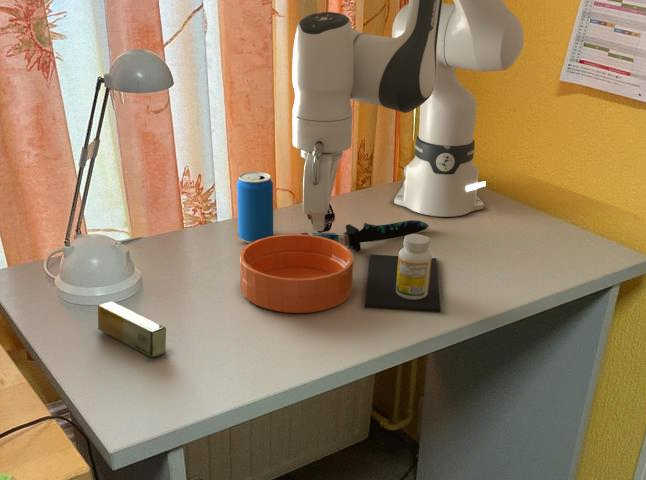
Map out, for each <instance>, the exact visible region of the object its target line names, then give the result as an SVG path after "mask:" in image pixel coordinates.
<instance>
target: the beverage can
mask: <svg viewBox="0 0 646 480" xmlns="http://www.w3.org/2000/svg"><path fill="white" fill-rule="evenodd" d="M236 199H237V200H236V201H237V232H238V238H239V239H240V240H242V241H243V242H244V243H246V244H250V243H252V242H254V241H256V240H259V239H262V238H266V237H270V236H274V183H273V181H272V179H271V175H270V173H269V174H268V173H267V172H262V171H246V172H243V173H241V174H240V175H238V179H237V182H236Z"/></svg>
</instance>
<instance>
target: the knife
mask: <svg viewBox="0 0 646 480" xmlns="http://www.w3.org/2000/svg"><path fill="white" fill-rule="evenodd" d="M428 228H429V224H428V223H426V222H424V221H421V220H415V219H414V220H412V219H411V220H404V221H398V222H394V223H388V224H378V225H377V224H376V225H375V224H370V223H366V222H364V224H363V227H362V228H361V229H360V230H359V229H358V228H357V227H355V226H353V225H352V224H349V223H348V224H346V225H345V232H322V233H318V232H302V233H300V234H303V235H313V236H319V237H324V238H328V239H331V240H334V241H337V242H339V243H341V244H343V245H345V246H346V247H349V249H352V250H354V251H356V252H357V253H358V252H361V250H362V248H361V247H362V246H361V244H362V243H372V242H379V241H385V240H393V239H398V238H402V237H405V236H406V235H409V234H418V233H420V232H423V231H424V230H426V229H428Z"/></svg>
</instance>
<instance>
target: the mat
mask: <svg viewBox="0 0 646 480" xmlns="http://www.w3.org/2000/svg"><path fill="white" fill-rule="evenodd" d="M398 256H399V255H390V254H374V253H373V254H372V253H369V260H368V270H367V281H366V290H365V291H366V292H365V303H364V308H368V309H382V310H383V309H384V310H396V311H397V310H399V311H400V310H401V311H415V312H416V311H417V312H429V313H441V309H442V307H441V296H440V286H439V284H440V283H439V273H438V272H439V271H438V263H437V262H438V261H437V260H438V259H437V258H436V257H432V262H431V270H430V279H429V288H428V294H427V296H426V297H424V298H422V299H419V300H409V299H405V298H402V297H400V296H399V295H398V294H397V293H396V280H397V267H398Z"/></svg>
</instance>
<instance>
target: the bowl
mask: <svg viewBox="0 0 646 480" xmlns="http://www.w3.org/2000/svg"><path fill="white" fill-rule="evenodd" d="M354 259H355V258H354V254H353V253H352V251H351V249H350V248H348V246H345V245H343V244H341V243H339V242H337V241H334V240H331V239H328V238H324V237H319V236H313V235H303V234H301V233H290V234H288V233H287V234H278V235H273V236H270V237H266V238H262V239H259V240H256V241H254V242H252V243H250V244H249V243H247V245H246V246H244V247H243V248H242V249H241V251H240V254H239V272H240V273H239V274H240V277H239V278H240V290H241V294H242V295H243V296H244V297H245V298H246V300H247V301H249V302H251V303H252V304H254V305H256V306H258V307H260V308H263V309H267V310H271V311H276V312H281V313H289V314H306V313H314V312H315V313H316V312H321V311H325V310H326V311H327V310H329V309H331V308H335V307H337V306H340V305H341V304H342V303H344V302H346V301H347V300H348V299H349V298H350V297H351V295H352V292H353V281H354V280H353V278H354V277H353V276H354Z"/></svg>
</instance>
